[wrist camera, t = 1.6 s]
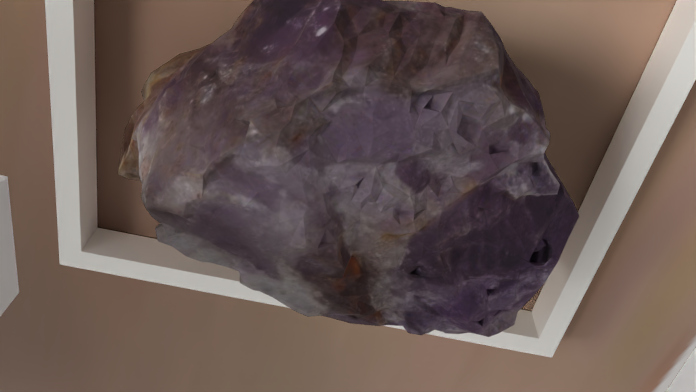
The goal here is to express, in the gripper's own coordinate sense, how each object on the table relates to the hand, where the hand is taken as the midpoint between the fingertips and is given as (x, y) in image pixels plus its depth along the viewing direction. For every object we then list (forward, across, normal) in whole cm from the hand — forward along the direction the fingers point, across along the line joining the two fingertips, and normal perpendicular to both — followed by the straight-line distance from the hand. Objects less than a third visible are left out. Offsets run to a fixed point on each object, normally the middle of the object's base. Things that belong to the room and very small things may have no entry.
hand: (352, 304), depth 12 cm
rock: (+10, -1, 0) cm, 10 cm away
